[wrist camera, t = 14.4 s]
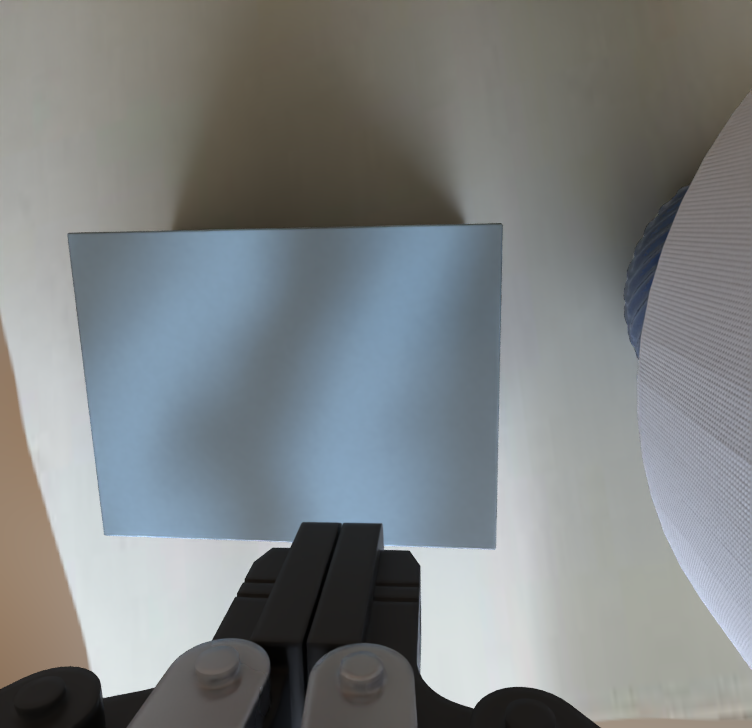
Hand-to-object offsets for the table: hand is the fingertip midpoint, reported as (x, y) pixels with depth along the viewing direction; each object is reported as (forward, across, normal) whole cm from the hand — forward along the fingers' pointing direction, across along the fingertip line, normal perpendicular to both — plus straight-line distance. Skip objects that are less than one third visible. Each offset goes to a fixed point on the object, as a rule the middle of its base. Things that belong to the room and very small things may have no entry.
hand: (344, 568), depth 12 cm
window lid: (+13, +4, 0) cm, 14 cm away
